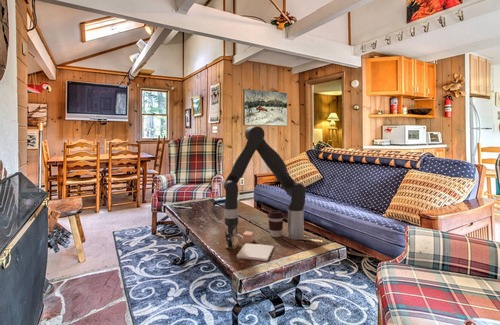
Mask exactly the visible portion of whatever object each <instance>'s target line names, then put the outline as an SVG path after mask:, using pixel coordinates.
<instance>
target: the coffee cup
mask: <svg viewBox="0 0 500 325" xmlns="http://www.w3.org/2000/svg"><path fill="white" fill-rule="evenodd" d="M267 217H268V228H269V236H270V237H273V238H280V237H282V236H283V235H282V234H283V228H284V218H285V214H284V213H283V212H282V210H278V209H275V210H270V211H269V212H268V213H267Z"/></svg>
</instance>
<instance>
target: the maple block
mask: <svg viewBox="0 0 500 325" xmlns="http://www.w3.org/2000/svg"><path fill="white" fill-rule="evenodd" d="M238 245H239V236H237V235H236V236H233V237H232V248H231V249H236V248H238ZM225 248H226V249H229V248H228V241H226V238H225Z"/></svg>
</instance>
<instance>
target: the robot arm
mask: <svg viewBox="0 0 500 325" xmlns="http://www.w3.org/2000/svg"><path fill="white" fill-rule="evenodd" d="M265 136H266V135H265V130H264V128H262V127H261V126H257V125H256V126H255V125H253V126H248V127H247V128H246V129H245V132H244V137H245V139H246V144H245V146H244V148H243V149H242V151H241V153H240V154H239V156H238V157H237V158H236V160H235V162H234V164H233V165H232V168H231V170H230V173H229V174H228V175H227V177H226V179H225V180H224V183H223V188H224V190H225V199H224V225H225V226H226V227H227V229H226V230H225V231H224V234H225V239H226V241H228V248H227V249H233V248H232V237H233V236H237V235H238V226H239V210H238V209H239V208H238V207H239V206H238V196H239V186H238V184H239V181H240V179H242V178H243V176H244V174H245V173H246V170H247V167H248V165H249V164H250V162H251V160H252V158H253V156H254V154H255V152H256V151H257V154H259V156H260V158H261V159H262V161H263V162H264V164H266V166H267V168H268V170H270V171H271V173H272V174H273V175H274V176H275V178H276V179H277V181H279V183H280V184H281V186H282V188H283V189H284V191H285V193H286V194H287V196H289V197H291V198H290V203H288V204H287V238H288V239H291V240H304V236H305V234H304V231H305V226H304V225H305V224H304V223H305V220H304V209H305V208H304V207H305V206H306V205H305V203H306V187H305V185H303V184H302V183H299V182H296V181H295V179H293V177H291V175H290V173H289V171H288V167H287V164H286V163H285V161H284V160H283V158H282V157H281V156H280V154H279V153H278V152H277V151H276V150H275V149H274V148H273V147H271V146H270V145H269V144H268V143H267V141H266V140H265Z"/></svg>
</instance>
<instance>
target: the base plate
mask: <svg viewBox="0 0 500 325" xmlns="http://www.w3.org/2000/svg"><path fill="white" fill-rule="evenodd" d="M273 250H274V246H273V245H266V244H257V243H244V245H243V246H242V247H241V249H240V250H239V251H238V253H237V254H236V258H237V259H245V260H246V259H247V260H253V261H263V262H268V261H269V260H270V257H271V254H272V252H273Z"/></svg>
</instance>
